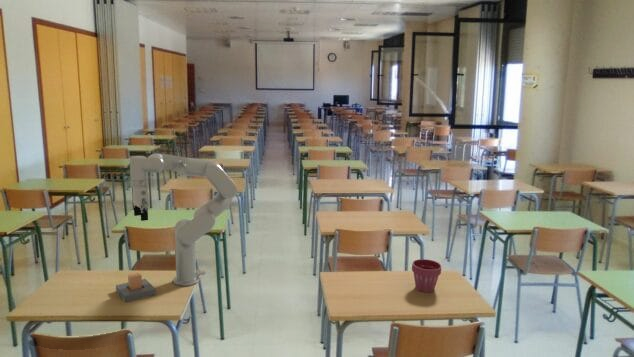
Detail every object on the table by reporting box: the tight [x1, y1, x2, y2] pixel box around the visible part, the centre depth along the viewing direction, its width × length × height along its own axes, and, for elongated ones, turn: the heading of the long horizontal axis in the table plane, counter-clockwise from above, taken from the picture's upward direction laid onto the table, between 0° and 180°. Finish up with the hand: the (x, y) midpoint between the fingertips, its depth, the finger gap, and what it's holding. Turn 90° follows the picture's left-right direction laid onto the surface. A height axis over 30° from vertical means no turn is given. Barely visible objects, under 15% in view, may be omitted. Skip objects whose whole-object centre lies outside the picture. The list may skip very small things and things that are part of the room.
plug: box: [127, 272, 143, 291], centre depth 240 cm, size 5×4×9 cm
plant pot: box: [411, 258, 442, 293], centre depth 253 cm, size 14×14×13 cm
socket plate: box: [115, 278, 157, 303], centre depth 240 cm, size 14×14×3 cm
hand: (141, 217), depth 242 cm, fingers open, 9 cm apart
